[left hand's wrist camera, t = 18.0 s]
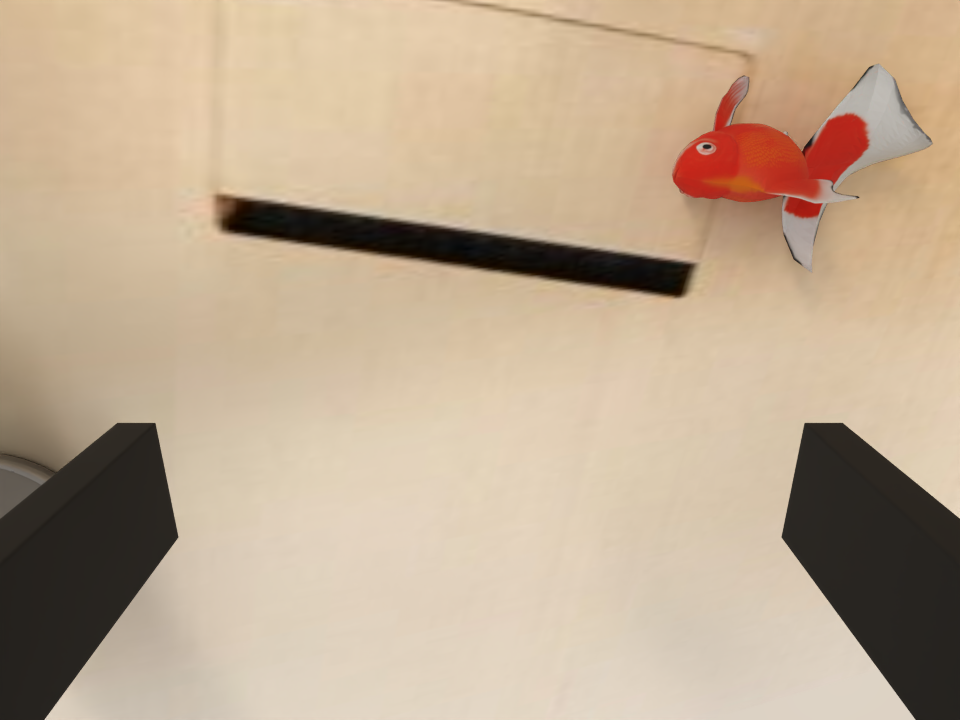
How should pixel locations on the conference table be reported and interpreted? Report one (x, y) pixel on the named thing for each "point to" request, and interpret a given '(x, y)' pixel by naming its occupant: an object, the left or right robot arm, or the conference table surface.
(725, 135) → the fish
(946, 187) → the conference table surface
